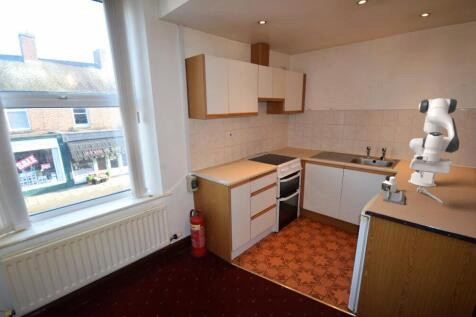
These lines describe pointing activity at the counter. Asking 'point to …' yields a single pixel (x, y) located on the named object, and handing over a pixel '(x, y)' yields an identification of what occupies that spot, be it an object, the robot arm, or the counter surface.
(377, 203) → the counter surface
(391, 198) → the rail base
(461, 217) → the counter surface
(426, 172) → the din module
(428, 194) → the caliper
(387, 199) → the din rail
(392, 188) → the medicine bottle
